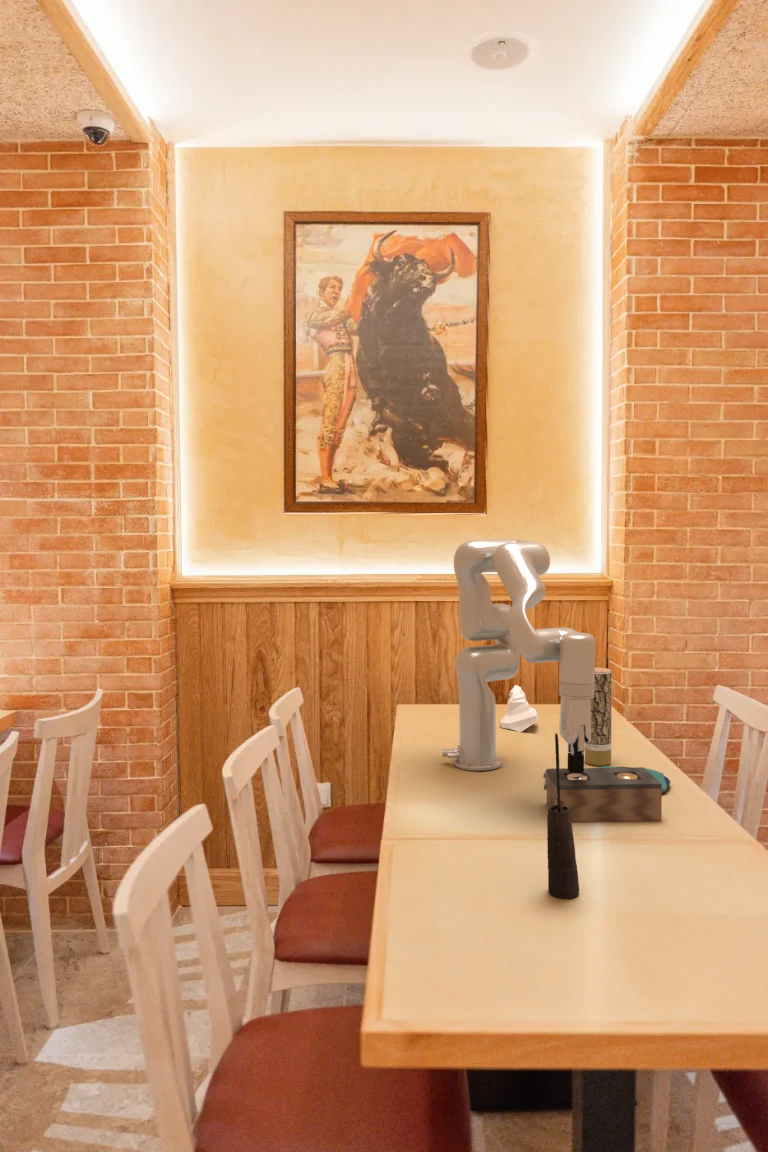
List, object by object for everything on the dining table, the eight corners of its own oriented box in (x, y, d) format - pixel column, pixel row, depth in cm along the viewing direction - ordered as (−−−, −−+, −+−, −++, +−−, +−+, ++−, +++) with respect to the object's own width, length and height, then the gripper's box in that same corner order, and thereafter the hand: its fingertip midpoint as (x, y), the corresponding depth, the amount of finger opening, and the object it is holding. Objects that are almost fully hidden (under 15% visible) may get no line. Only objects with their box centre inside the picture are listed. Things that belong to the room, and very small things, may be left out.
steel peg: (569, 811, 175) (569, 779, 175) (564, 804, 179) (564, 773, 179) (589, 811, 175) (589, 779, 175) (584, 804, 179) (584, 773, 179)
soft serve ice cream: (499, 737, 248) (488, 692, 250) (506, 729, 262) (496, 687, 264) (539, 729, 245) (527, 683, 246) (544, 722, 259) (533, 679, 260)
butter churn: (551, 873, 146) (551, 720, 144) (601, 887, 140) (601, 728, 138) (526, 891, 139) (525, 731, 137) (577, 907, 133) (577, 739, 131)
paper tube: (605, 768, 209) (605, 673, 208) (580, 763, 213) (580, 670, 212) (615, 762, 215) (615, 669, 213) (590, 758, 219) (591, 666, 218)
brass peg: (620, 810, 175) (620, 779, 175) (614, 803, 179) (614, 772, 179) (640, 810, 175) (640, 778, 175) (633, 803, 179) (634, 772, 179)
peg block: (558, 822, 171) (558, 785, 171) (546, 803, 183) (546, 768, 183) (661, 820, 171) (661, 783, 171) (643, 801, 183) (643, 767, 183)
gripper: (552, 682, 183) (551, 761, 185) (567, 697, 168) (566, 783, 170) (585, 682, 183) (584, 761, 185) (603, 696, 168) (601, 782, 170)
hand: (575, 771), depth 177 cm, fingers closed
